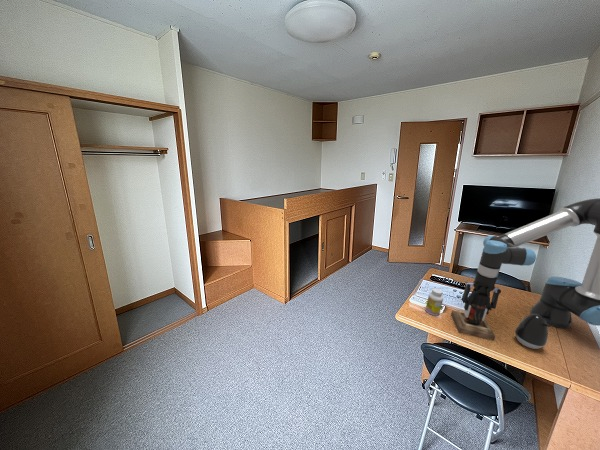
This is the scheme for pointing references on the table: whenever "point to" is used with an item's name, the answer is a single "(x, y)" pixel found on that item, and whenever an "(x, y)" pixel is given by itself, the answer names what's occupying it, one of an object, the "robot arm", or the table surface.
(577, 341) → the table surface
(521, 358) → the table surface
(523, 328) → the black rounded dome
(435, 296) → the supplement bottle
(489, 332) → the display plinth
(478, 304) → the deodorant
